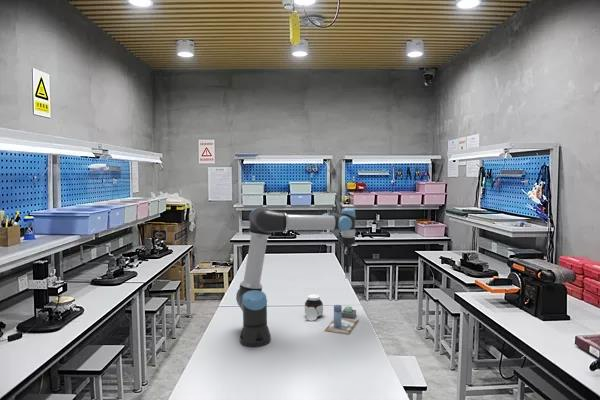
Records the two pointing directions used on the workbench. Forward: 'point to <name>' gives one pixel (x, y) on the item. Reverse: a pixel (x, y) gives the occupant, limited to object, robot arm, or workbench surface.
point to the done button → (348, 309)
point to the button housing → (348, 314)
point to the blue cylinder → (337, 316)
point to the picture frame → (343, 326)
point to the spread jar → (313, 307)
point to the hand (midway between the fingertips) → (347, 278)
